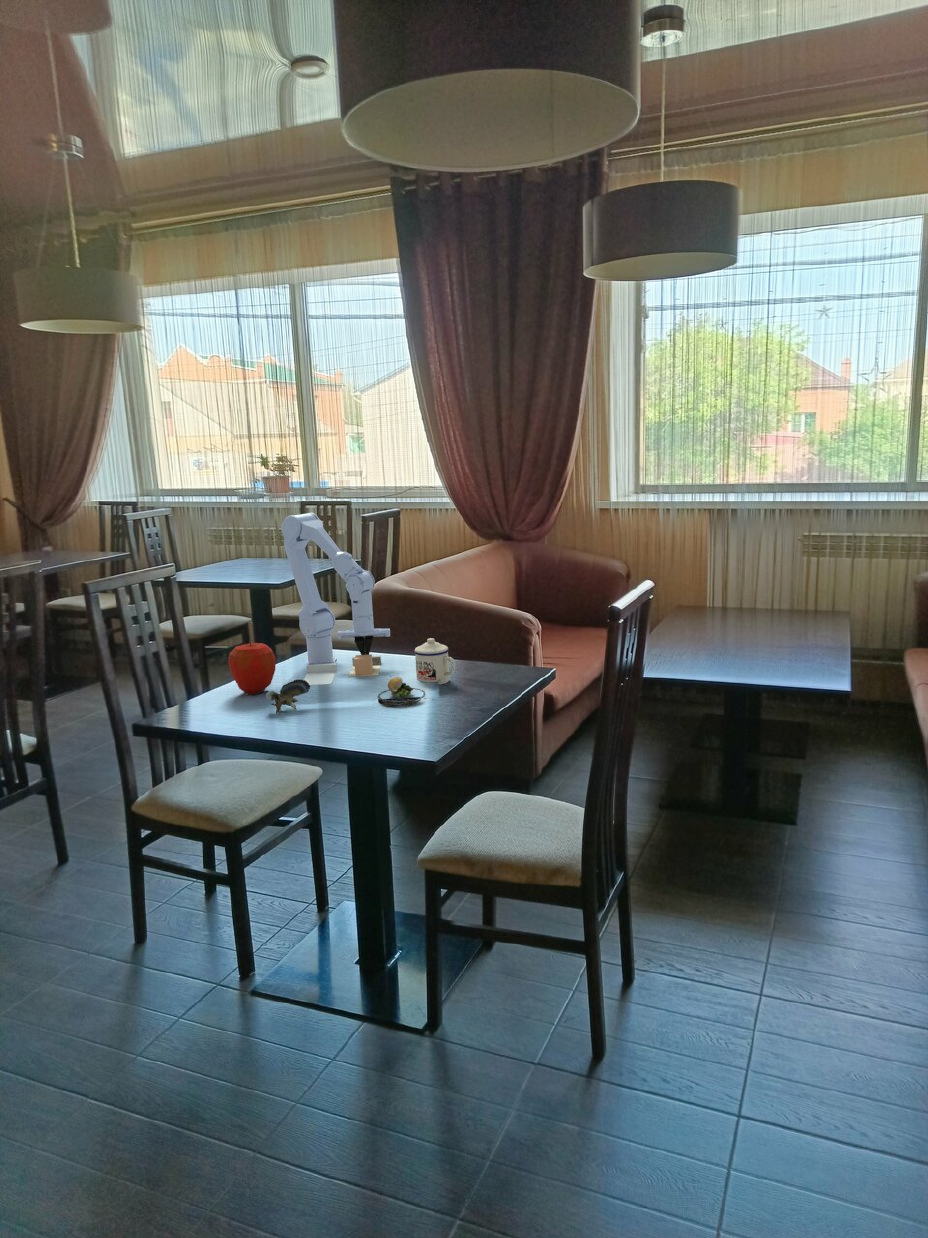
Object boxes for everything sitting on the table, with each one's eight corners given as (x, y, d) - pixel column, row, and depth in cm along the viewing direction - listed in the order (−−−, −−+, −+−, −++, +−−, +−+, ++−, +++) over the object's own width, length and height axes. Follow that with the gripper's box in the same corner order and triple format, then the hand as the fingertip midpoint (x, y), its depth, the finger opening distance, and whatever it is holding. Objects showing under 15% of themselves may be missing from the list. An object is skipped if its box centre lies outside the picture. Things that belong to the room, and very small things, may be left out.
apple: (272, 698, 223) (267, 644, 220) (226, 700, 223) (220, 646, 220) (283, 685, 235) (278, 634, 232) (239, 686, 235) (234, 636, 232)
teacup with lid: (409, 683, 230) (406, 641, 228) (429, 675, 237) (427, 633, 235) (445, 689, 223) (443, 645, 221) (466, 680, 230) (463, 637, 228)
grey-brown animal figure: (296, 711, 207) (318, 692, 215) (276, 685, 206) (299, 668, 214) (276, 725, 211) (298, 706, 219) (257, 700, 211) (280, 682, 219)
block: (356, 671, 241) (355, 655, 240) (373, 670, 241) (371, 654, 240) (355, 675, 236) (354, 659, 235) (371, 674, 236) (370, 658, 235)
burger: (418, 708, 209) (417, 678, 208) (371, 707, 212) (369, 678, 210) (430, 694, 221) (429, 665, 219) (385, 693, 223) (384, 665, 222)
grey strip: (308, 675, 243) (307, 664, 242) (337, 673, 243) (336, 663, 242) (301, 689, 229) (300, 678, 228) (331, 687, 229) (330, 676, 229)
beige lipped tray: (353, 667, 249) (352, 657, 248) (381, 665, 249) (380, 655, 248) (348, 680, 235) (347, 669, 235) (378, 678, 235) (377, 668, 235)
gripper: (335, 619, 239) (338, 667, 242) (387, 616, 239) (390, 664, 242) (337, 614, 246) (341, 660, 249) (389, 611, 246) (392, 658, 249)
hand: (366, 662), depth 246 cm, fingers closed, pressing on beige lipped tray
